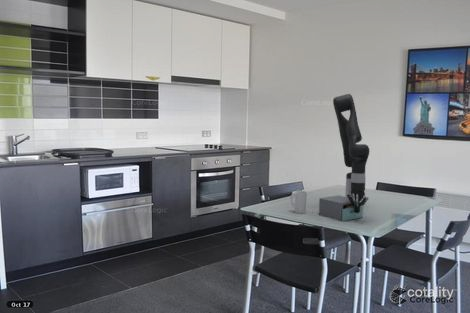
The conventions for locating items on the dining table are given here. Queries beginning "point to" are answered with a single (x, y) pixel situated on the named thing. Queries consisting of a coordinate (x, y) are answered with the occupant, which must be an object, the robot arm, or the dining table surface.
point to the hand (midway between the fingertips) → (357, 212)
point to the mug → (299, 201)
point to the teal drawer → (351, 213)
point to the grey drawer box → (333, 206)
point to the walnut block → (347, 206)
